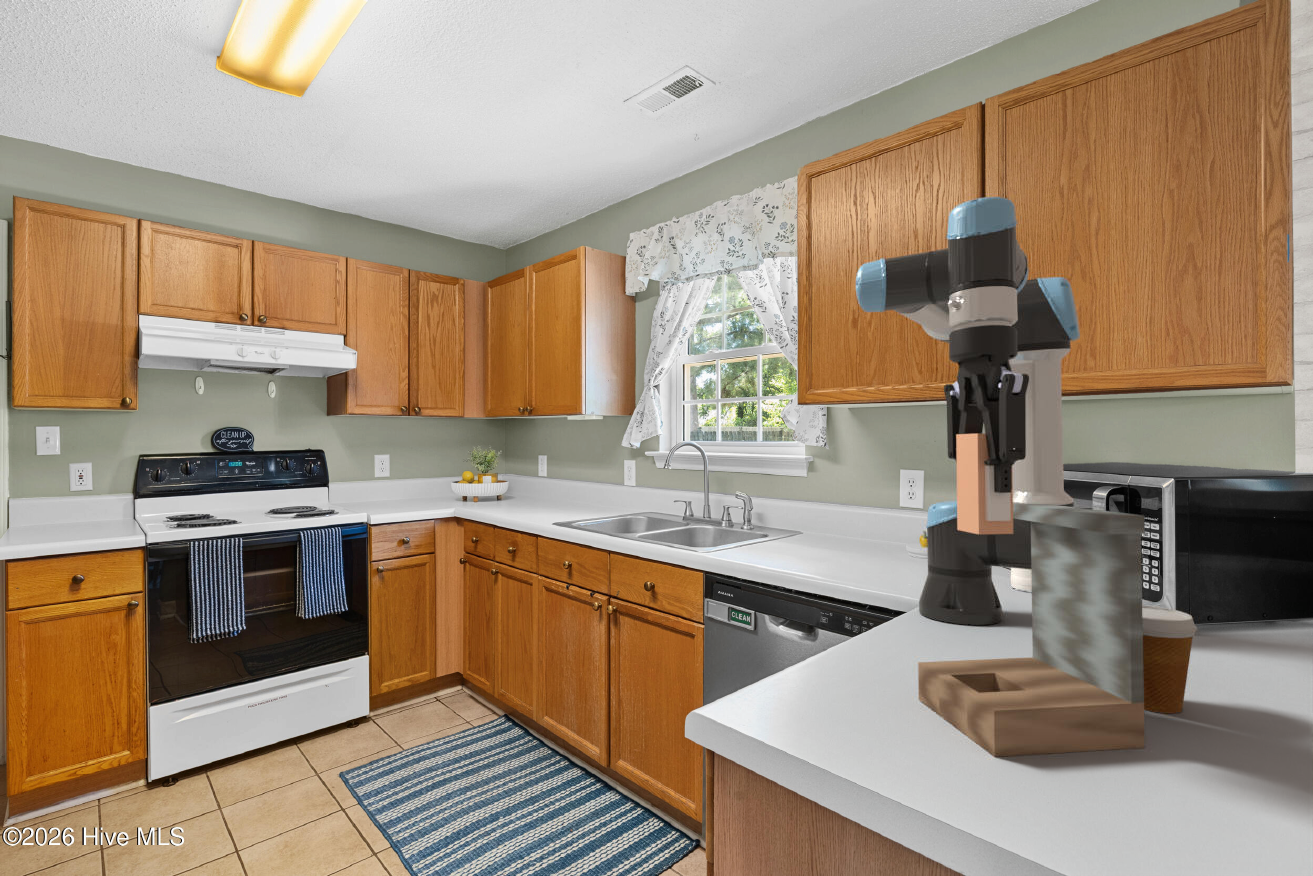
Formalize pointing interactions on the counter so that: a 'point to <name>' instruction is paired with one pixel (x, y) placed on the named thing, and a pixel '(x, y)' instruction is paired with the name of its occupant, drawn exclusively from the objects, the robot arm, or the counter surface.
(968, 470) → the peg
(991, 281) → the robot arm
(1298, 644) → the counter surface
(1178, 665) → the disposable coffee cup
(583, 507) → the counter surface
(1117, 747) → the socket stand
